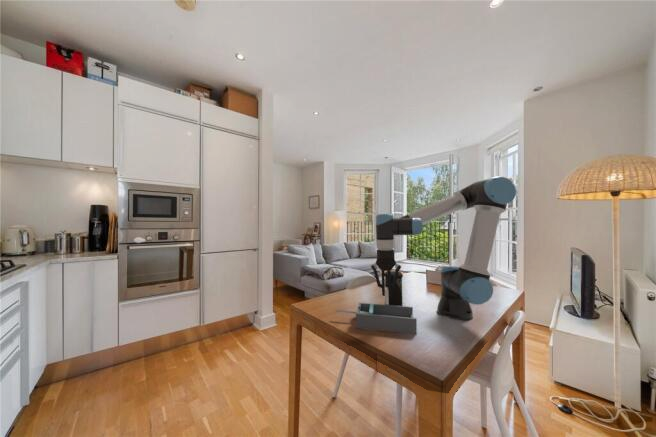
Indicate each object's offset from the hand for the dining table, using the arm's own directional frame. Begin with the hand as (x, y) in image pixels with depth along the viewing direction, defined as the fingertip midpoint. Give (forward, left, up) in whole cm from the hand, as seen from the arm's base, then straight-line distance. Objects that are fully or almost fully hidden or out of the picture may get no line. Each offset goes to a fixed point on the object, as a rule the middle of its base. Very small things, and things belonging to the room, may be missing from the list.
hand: (386, 303), depth 103 cm
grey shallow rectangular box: (+1, 0, -9) cm, 9 cm away
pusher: (+14, 0, -8) cm, 16 cm away
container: (-3, -14, -9) cm, 17 cm away
